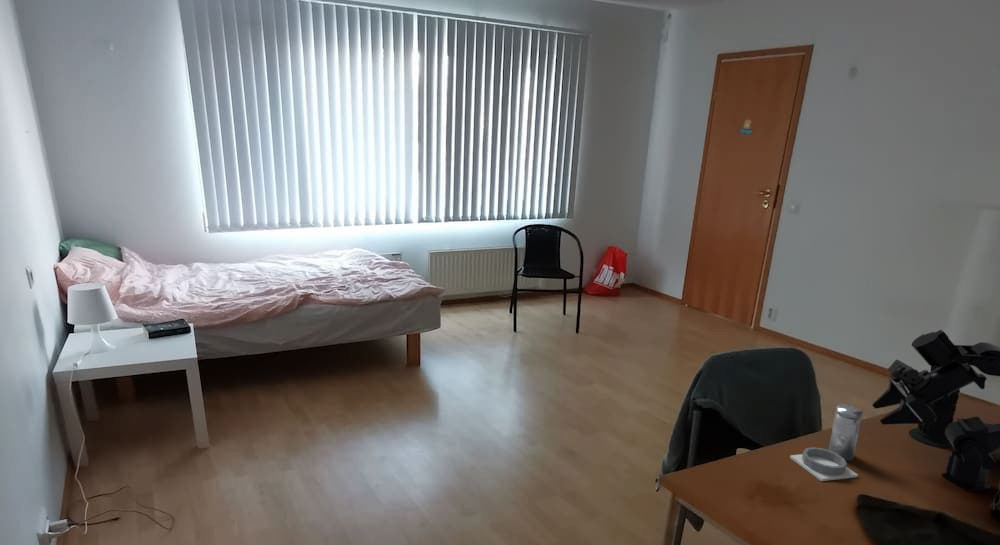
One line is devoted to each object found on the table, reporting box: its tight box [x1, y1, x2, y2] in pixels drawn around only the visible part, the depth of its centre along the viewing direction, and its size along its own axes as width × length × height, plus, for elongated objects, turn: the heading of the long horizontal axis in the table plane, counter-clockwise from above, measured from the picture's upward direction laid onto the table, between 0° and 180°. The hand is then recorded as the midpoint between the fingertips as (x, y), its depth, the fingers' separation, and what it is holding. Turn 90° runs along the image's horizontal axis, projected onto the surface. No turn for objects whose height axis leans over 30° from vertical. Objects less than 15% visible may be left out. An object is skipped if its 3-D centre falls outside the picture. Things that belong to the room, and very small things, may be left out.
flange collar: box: [789, 446, 859, 482], centre depth 131 cm, size 10×10×3 cm
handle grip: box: [908, 357, 967, 450], centre depth 144 cm, size 10×26×10 cm
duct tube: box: [828, 403, 863, 462], centre depth 136 cm, size 6×6×12 cm
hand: (877, 414), depth 132 cm, fingers open, 9 cm apart
